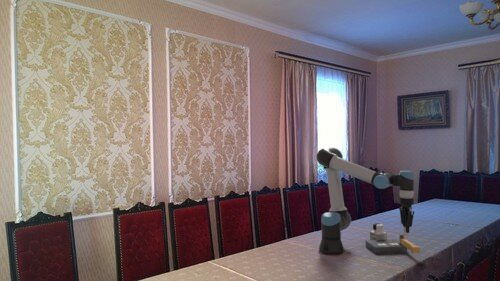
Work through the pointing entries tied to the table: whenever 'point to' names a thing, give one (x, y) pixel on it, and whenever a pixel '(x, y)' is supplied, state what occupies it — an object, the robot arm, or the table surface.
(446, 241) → the table surface
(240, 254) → the table surface
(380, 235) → the container
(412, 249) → the bar
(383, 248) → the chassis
